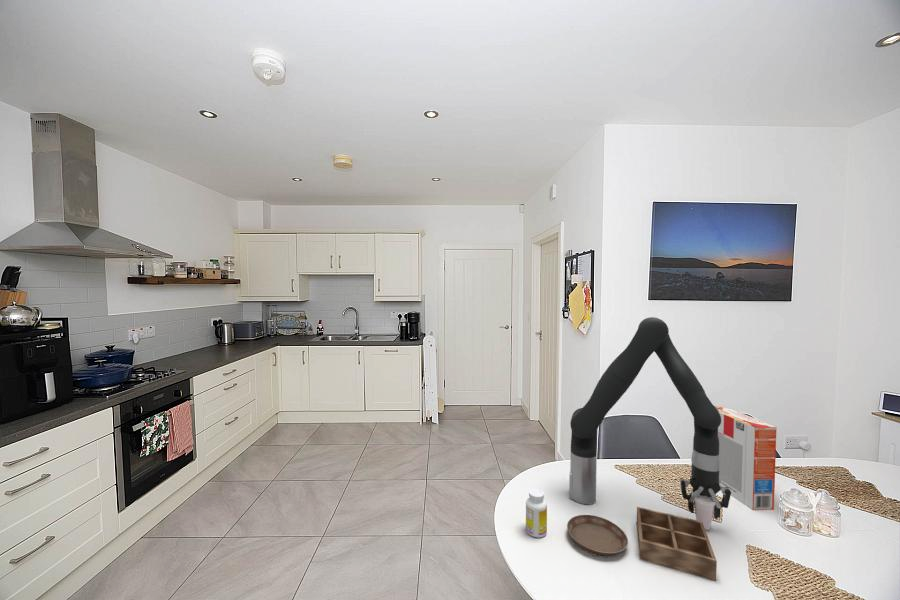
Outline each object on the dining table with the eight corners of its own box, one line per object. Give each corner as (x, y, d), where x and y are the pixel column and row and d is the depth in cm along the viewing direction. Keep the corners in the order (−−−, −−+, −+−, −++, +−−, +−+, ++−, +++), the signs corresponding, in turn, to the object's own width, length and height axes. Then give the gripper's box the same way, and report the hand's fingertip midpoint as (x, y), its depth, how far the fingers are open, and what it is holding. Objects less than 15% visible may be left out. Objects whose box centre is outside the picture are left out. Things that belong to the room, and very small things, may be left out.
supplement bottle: (547, 527, 119) (548, 489, 119) (546, 540, 113) (546, 500, 113) (527, 523, 122) (527, 485, 121) (524, 535, 115) (524, 496, 115)
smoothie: (719, 533, 116) (720, 491, 116) (696, 531, 118) (698, 488, 117) (709, 521, 123) (710, 480, 122) (688, 518, 124) (689, 478, 123)
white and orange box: (773, 509, 130) (776, 427, 129) (752, 510, 130) (754, 427, 129) (722, 476, 153) (724, 406, 152) (704, 477, 153) (705, 406, 152)
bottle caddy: (639, 559, 106) (639, 540, 105) (636, 522, 122) (636, 506, 122) (716, 580, 98) (716, 561, 98) (701, 538, 115) (702, 521, 114)
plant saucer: (626, 532, 118) (627, 522, 118) (629, 570, 102) (629, 559, 102) (569, 517, 125) (570, 509, 125) (563, 551, 109) (563, 541, 109)
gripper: (681, 465, 119) (679, 515, 120) (735, 475, 113) (733, 527, 113) (678, 455, 126) (676, 503, 126) (729, 464, 120) (727, 514, 120)
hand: (703, 514), depth 120 cm, fingers closed on smoothie, 6 cm apart
